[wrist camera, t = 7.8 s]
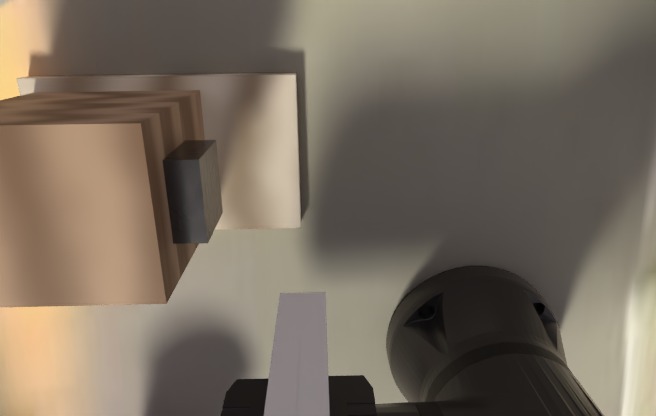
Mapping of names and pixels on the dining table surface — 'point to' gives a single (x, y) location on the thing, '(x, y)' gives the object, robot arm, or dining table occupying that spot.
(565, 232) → the dining table surface
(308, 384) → the robot arm
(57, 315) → the dining table surface
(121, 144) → the block
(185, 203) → the shaft
